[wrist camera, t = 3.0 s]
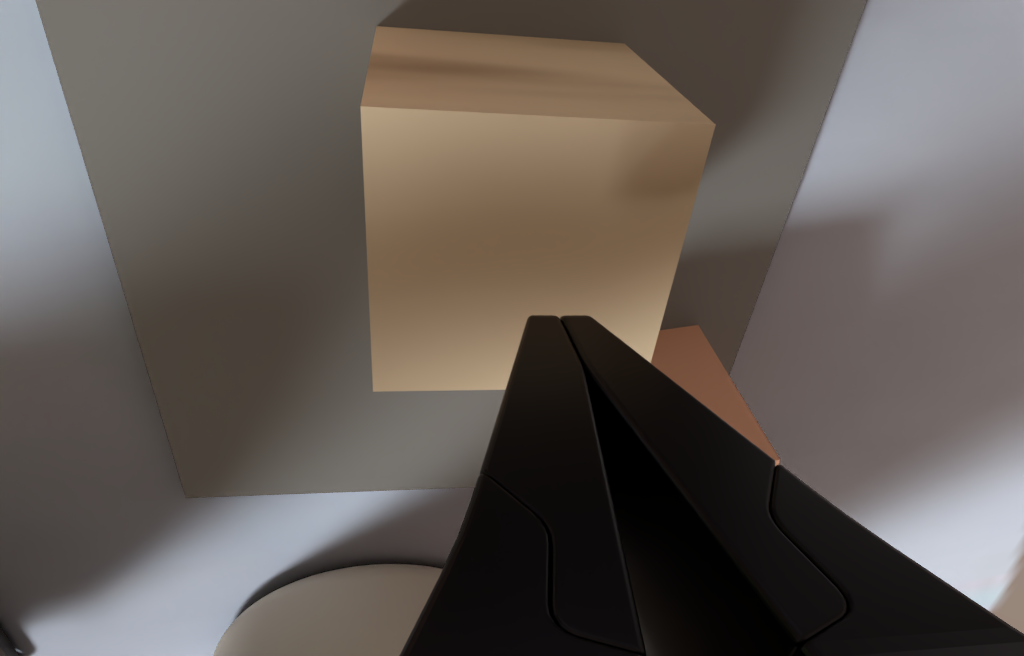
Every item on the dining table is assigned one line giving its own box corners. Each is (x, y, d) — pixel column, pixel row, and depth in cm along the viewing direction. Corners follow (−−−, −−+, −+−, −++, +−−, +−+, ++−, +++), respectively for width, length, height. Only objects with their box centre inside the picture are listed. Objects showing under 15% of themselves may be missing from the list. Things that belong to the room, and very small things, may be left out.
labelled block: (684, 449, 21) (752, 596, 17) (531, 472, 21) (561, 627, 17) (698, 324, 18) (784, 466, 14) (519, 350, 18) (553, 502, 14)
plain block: (586, 256, 16) (643, 387, 12) (382, 252, 16) (373, 391, 11) (624, 43, 13) (715, 124, 9) (376, 26, 13) (360, 106, 9)
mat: (686, 470, 22) (690, 479, 22) (189, 487, 20) (185, 497, 19) (1053, -555, 10) (1076, -570, 9) (-206, -861, 7) (-235, -895, 7)
